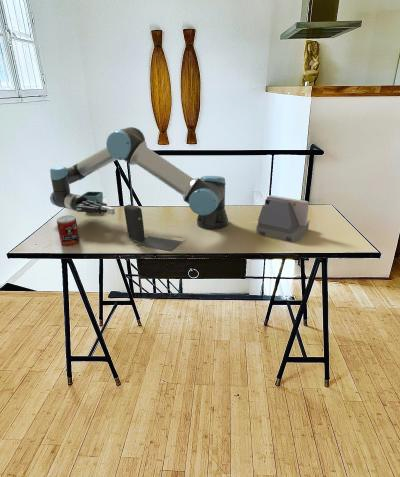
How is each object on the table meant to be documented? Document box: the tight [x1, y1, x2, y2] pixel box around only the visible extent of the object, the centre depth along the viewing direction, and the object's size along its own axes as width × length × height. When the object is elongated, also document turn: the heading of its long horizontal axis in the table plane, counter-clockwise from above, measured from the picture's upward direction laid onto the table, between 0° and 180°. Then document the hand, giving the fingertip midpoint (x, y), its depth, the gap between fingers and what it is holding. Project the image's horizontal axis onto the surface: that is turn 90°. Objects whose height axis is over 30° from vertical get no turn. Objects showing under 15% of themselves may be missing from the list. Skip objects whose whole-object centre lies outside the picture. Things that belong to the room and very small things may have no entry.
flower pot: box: [80, 191, 104, 202], centre depth 187 cm, size 9×9×9 cm
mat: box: [136, 235, 183, 252], centre depth 146 cm, size 16×10×1 cm, turn 68°
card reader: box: [123, 204, 146, 243], centre depth 147 cm, size 9×4×15 cm, turn 42°
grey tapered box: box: [255, 195, 310, 243], centre depth 154 cm, size 21×21×15 cm
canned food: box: [56, 215, 80, 247], centre depth 147 cm, size 8×8×11 cm
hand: (113, 211), depth 152 cm, fingers closed
